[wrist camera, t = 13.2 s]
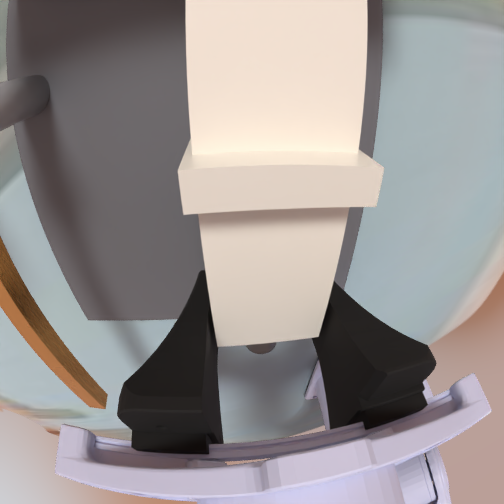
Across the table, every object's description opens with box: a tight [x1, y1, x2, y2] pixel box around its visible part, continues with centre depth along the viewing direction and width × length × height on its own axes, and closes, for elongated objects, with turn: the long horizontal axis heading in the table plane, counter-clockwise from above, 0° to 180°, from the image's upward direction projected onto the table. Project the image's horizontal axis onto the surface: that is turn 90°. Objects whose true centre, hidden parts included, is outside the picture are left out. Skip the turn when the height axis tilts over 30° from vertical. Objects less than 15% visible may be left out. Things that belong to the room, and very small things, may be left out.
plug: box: [178, 0, 384, 354], centre depth 9 cm, size 4×17×5 cm, turn 0°
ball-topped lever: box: [0, 237, 108, 409], centre depth 7 cm, size 15×2×1 cm, turn 1°
